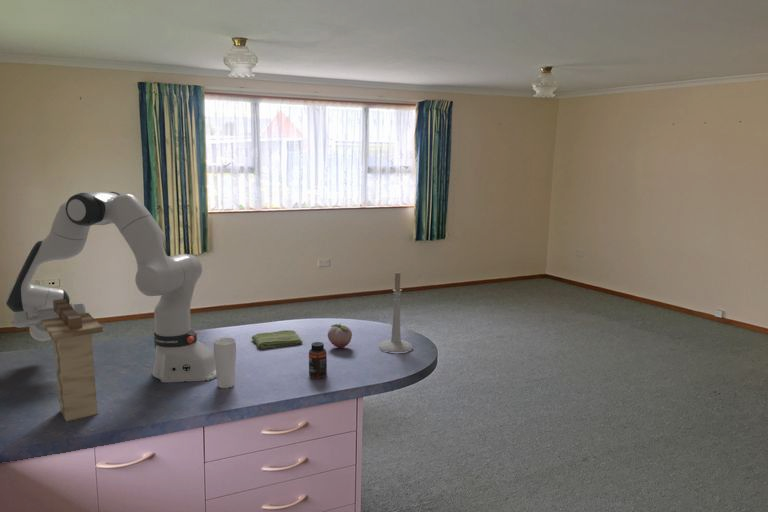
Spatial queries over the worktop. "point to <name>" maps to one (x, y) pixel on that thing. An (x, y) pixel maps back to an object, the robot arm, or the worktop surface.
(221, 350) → the drinking glass
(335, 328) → the decorative fruit
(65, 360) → the stand
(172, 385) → the worktop surface
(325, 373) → the supplement bottle
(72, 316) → the block
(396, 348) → the candlestick
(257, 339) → the washcloth
